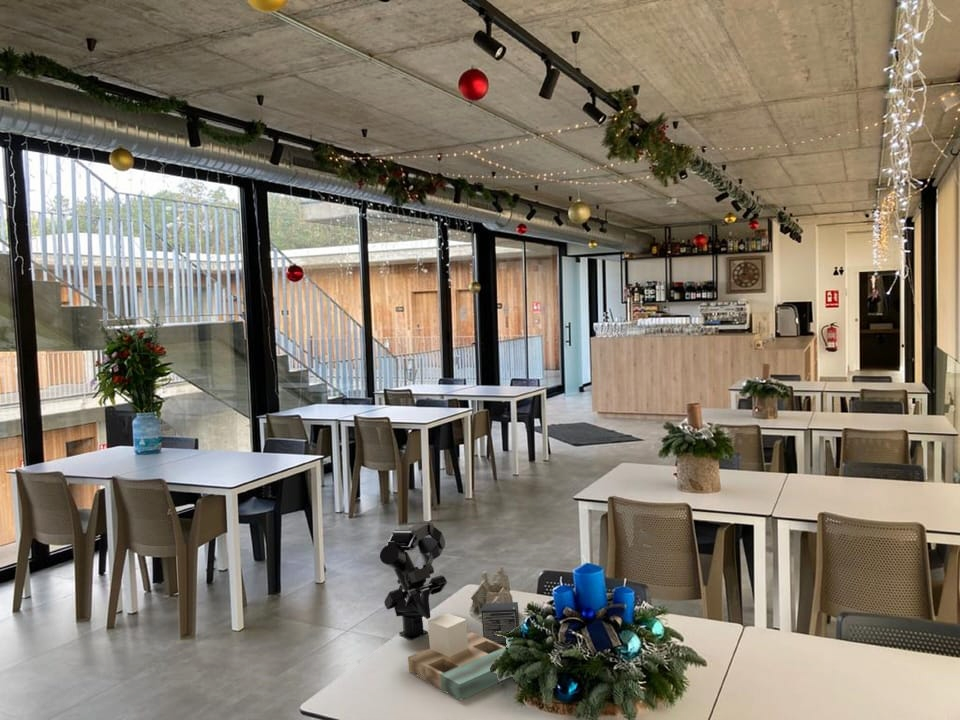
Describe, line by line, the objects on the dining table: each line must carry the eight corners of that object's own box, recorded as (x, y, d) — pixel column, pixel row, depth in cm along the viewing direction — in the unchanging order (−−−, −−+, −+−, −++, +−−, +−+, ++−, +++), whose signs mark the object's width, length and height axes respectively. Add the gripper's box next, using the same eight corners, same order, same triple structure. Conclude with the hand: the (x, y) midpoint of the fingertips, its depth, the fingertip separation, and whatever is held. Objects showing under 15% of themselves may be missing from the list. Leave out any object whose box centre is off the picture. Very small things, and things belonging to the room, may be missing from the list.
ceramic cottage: (477, 603, 252) (474, 560, 250) (524, 610, 245) (521, 565, 244) (458, 625, 238) (455, 579, 236) (507, 632, 231) (504, 585, 229)
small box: (520, 635, 224) (518, 600, 224) (519, 645, 218) (517, 609, 217) (485, 636, 225) (482, 602, 225) (483, 646, 219) (480, 610, 218)
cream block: (429, 649, 209) (427, 621, 209) (448, 640, 214) (446, 613, 214) (449, 657, 203) (447, 627, 203) (468, 648, 208) (466, 619, 208)
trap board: (408, 671, 206) (407, 656, 205) (472, 645, 219) (471, 631, 219) (460, 700, 188) (459, 684, 188) (526, 670, 202) (525, 655, 201)
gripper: (385, 564, 213) (409, 613, 204) (441, 548, 224) (465, 594, 215) (374, 585, 219) (397, 633, 211) (428, 568, 230) (452, 613, 222)
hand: (428, 618), depth 215 cm, fingers closed
